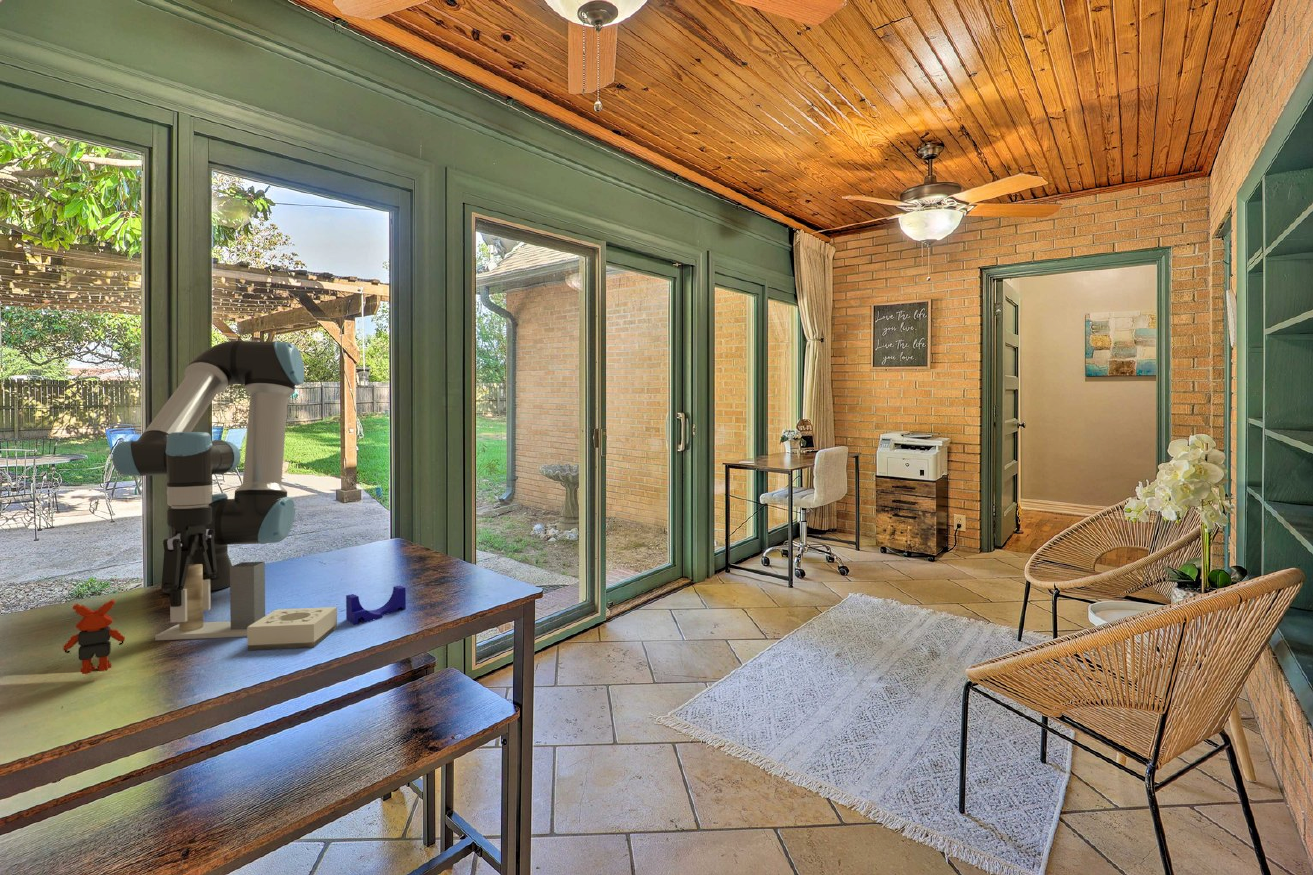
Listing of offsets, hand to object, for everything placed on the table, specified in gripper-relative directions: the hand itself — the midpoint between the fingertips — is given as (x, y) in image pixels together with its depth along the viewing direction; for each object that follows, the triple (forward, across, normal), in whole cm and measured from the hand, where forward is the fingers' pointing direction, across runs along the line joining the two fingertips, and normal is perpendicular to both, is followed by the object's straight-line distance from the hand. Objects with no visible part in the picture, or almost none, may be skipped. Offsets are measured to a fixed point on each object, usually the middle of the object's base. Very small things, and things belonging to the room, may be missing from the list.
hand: (191, 615), depth 131 cm
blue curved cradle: (+4, -6, +35) cm, 36 cm away
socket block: (+4, +7, +23) cm, 24 cm away
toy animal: (+4, +19, -5) cm, 20 cm away
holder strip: (+4, 0, +6) cm, 7 cm away
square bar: (+3, 0, +11) cm, 11 cm away
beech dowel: (+3, 0, 0) cm, 3 cm away
